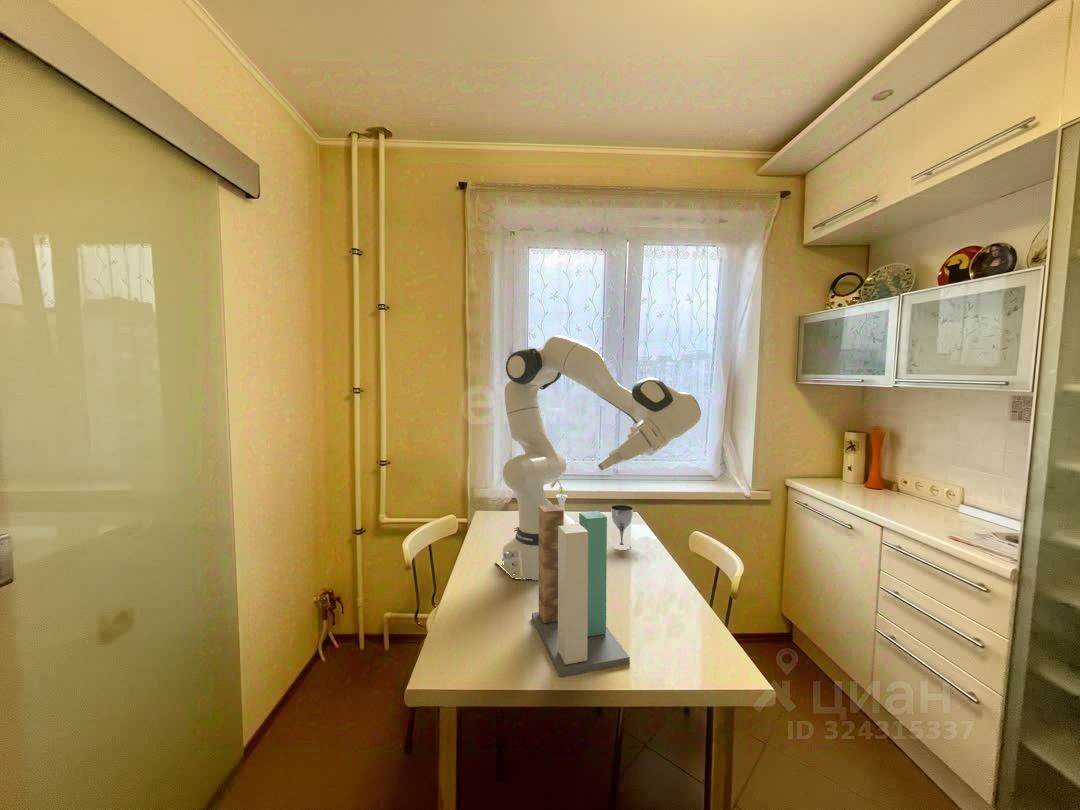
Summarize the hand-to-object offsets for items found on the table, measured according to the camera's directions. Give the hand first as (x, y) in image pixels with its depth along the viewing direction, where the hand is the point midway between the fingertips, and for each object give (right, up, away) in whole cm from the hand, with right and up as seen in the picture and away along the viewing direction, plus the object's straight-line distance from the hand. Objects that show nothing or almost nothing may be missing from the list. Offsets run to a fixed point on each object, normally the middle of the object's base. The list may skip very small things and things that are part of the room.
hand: (601, 467), depth 108 cm
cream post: (-9, -39, -16) cm, 43 cm away
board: (-7, -40, -7) cm, 41 cm away
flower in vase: (-7, -37, +72) cm, 81 cm away
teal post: (-3, -38, -6) cm, 39 cm away
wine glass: (+15, -38, +51) cm, 65 cm away
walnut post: (-13, -38, -1) cm, 40 cm away
